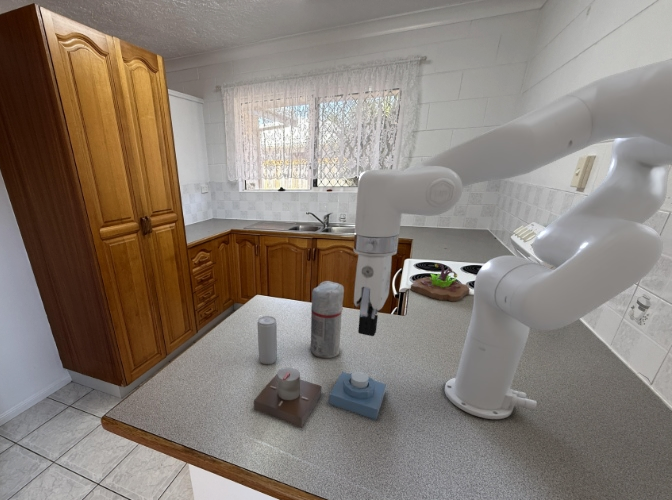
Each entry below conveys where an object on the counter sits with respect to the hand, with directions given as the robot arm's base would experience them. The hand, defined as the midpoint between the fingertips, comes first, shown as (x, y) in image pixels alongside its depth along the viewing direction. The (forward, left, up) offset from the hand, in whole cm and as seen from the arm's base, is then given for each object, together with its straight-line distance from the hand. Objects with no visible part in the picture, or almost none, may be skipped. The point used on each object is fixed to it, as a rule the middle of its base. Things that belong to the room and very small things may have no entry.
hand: (367, 333), depth 63 cm
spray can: (+13, -14, -16) cm, 25 cm away
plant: (-12, -78, -16) cm, 81 cm away
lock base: (+13, +9, -16) cm, 23 cm away
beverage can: (+25, -3, -16) cm, 30 cm away
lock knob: (+13, +9, -14) cm, 21 cm away
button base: (0, +1, -16) cm, 16 cm away
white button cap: (0, +1, -12) cm, 12 cm away
